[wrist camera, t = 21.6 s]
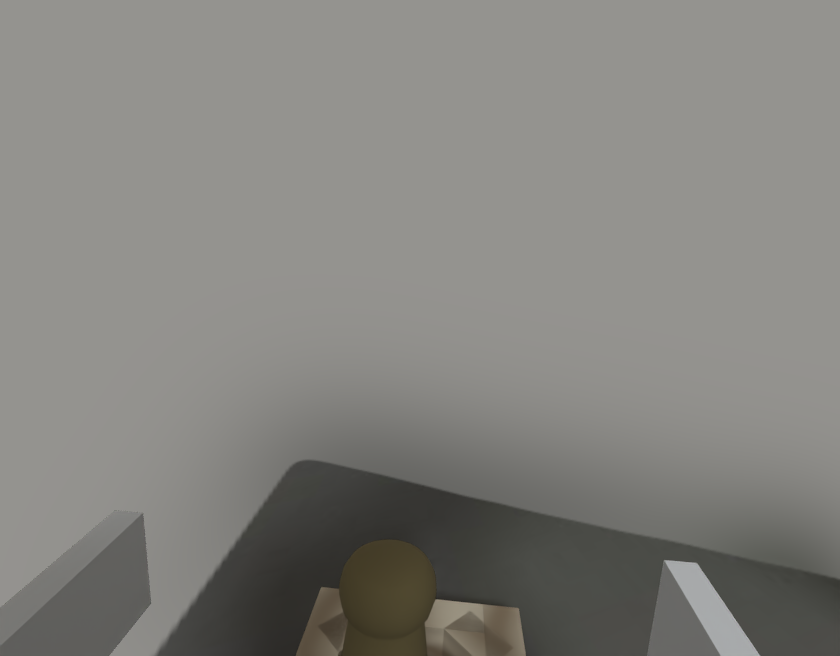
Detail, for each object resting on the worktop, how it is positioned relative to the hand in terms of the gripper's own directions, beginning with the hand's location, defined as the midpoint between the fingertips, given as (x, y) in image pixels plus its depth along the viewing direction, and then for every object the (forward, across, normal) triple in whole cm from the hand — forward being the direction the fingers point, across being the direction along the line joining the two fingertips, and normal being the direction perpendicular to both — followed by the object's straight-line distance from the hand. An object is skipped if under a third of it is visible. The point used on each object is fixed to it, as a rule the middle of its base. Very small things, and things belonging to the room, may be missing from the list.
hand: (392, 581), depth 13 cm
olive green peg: (+12, -2, -20) cm, 23 cm away
